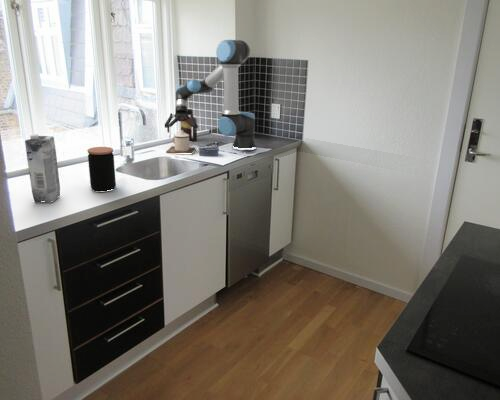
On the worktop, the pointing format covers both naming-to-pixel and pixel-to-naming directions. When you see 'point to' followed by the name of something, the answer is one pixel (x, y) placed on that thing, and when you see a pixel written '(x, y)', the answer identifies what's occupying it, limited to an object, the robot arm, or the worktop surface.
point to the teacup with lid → (181, 141)
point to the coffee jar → (101, 168)
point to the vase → (189, 127)
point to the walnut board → (172, 150)
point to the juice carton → (43, 168)
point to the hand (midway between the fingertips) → (181, 136)
